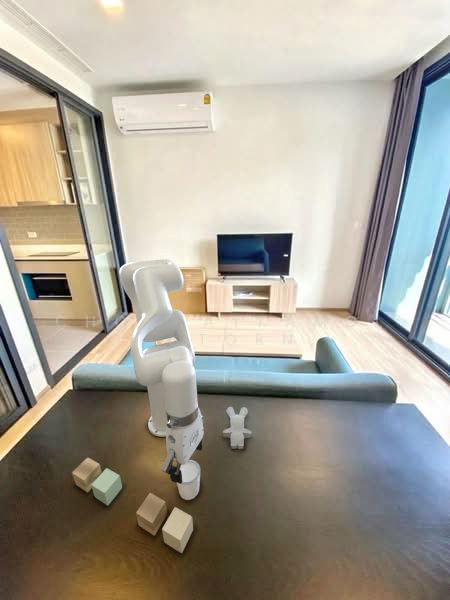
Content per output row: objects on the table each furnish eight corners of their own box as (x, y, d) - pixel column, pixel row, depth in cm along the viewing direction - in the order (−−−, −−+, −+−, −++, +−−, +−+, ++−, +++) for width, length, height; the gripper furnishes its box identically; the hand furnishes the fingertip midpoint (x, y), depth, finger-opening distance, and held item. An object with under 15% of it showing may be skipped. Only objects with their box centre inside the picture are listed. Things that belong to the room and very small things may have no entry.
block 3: (152, 505, 66) (149, 492, 64) (167, 514, 64) (165, 501, 62) (138, 525, 61) (135, 512, 60) (154, 536, 59) (152, 523, 58)
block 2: (109, 480, 72) (106, 467, 70) (122, 487, 70) (119, 475, 68) (94, 497, 68) (91, 484, 66) (107, 505, 66) (104, 493, 64)
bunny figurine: (222, 442, 78) (224, 402, 92) (222, 452, 81) (224, 412, 94) (252, 443, 78) (250, 403, 91) (251, 452, 80) (249, 412, 94)
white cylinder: (197, 505, 66) (195, 487, 63) (172, 499, 67) (170, 481, 64) (204, 478, 72) (203, 461, 69) (182, 474, 73) (180, 457, 71)
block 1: (91, 469, 75) (87, 457, 73) (102, 476, 73) (99, 464, 71) (75, 484, 71) (71, 472, 69) (87, 492, 69) (83, 480, 67)
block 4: (176, 519, 63) (174, 506, 61) (193, 529, 61) (192, 516, 59) (163, 542, 58) (161, 529, 57) (181, 553, 56) (180, 540, 55)
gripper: (173, 446, 51) (180, 503, 56) (213, 393, 65) (215, 442, 71) (145, 433, 54) (154, 488, 59) (188, 385, 68) (192, 433, 74)
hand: (187, 463), depth 65 cm, fingers open, 9 cm apart
